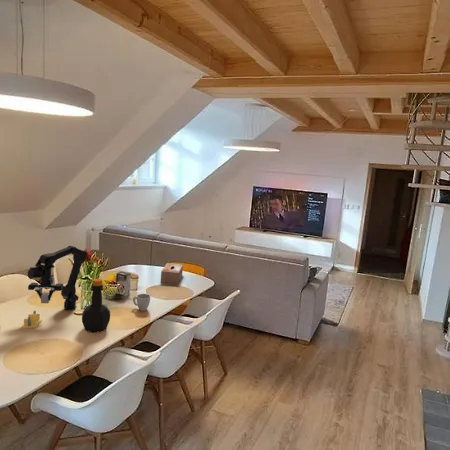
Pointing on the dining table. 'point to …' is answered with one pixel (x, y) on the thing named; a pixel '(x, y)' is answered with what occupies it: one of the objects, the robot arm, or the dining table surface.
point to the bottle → (96, 311)
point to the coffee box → (124, 281)
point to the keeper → (32, 321)
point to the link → (45, 298)
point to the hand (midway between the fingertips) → (45, 300)
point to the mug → (142, 301)
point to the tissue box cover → (171, 273)
